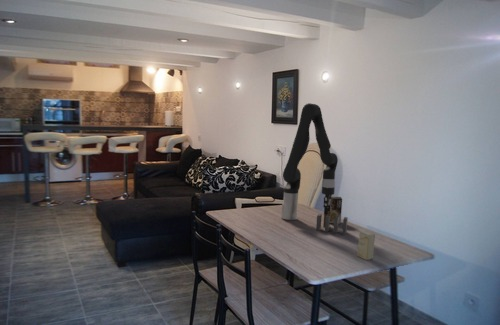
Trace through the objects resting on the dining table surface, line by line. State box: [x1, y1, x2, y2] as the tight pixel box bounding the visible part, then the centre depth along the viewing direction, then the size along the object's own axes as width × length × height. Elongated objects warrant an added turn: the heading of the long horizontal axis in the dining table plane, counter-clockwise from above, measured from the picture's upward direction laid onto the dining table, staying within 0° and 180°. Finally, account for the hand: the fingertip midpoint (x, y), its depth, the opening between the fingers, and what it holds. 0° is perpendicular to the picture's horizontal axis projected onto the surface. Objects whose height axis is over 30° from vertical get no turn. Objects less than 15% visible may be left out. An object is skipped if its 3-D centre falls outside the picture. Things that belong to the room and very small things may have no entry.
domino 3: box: [324, 215, 331, 233], centre depth 225 cm, size 2×5×9 cm, turn 159°
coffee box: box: [328, 195, 343, 225], centre depth 246 cm, size 9×6×16 cm
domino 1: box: [315, 213, 323, 232], centre depth 227 cm, size 2×5×9 cm, turn 159°
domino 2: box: [322, 211, 329, 229], centre depth 234 cm, size 2×5×9 cm, turn 159°
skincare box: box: [357, 230, 376, 261], centre depth 182 cm, size 6×4×12 cm
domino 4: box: [333, 216, 339, 234], centre depth 223 cm, size 2×5×9 cm, turn 160°
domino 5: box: [341, 216, 349, 236], centre depth 221 cm, size 2×5×9 cm, turn 159°
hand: (327, 212), depth 234 cm, fingers open, 8 cm apart
